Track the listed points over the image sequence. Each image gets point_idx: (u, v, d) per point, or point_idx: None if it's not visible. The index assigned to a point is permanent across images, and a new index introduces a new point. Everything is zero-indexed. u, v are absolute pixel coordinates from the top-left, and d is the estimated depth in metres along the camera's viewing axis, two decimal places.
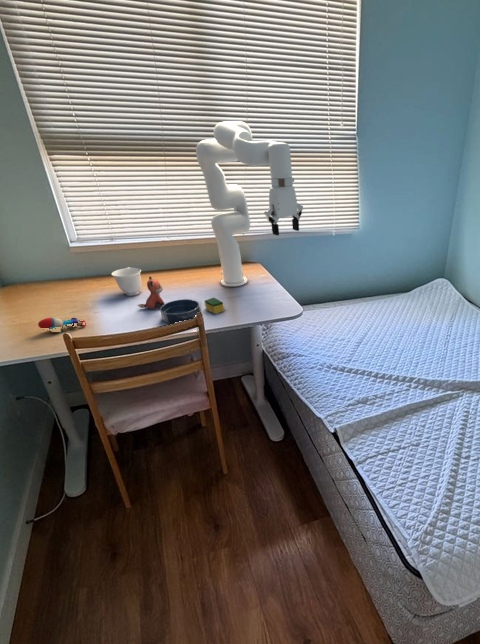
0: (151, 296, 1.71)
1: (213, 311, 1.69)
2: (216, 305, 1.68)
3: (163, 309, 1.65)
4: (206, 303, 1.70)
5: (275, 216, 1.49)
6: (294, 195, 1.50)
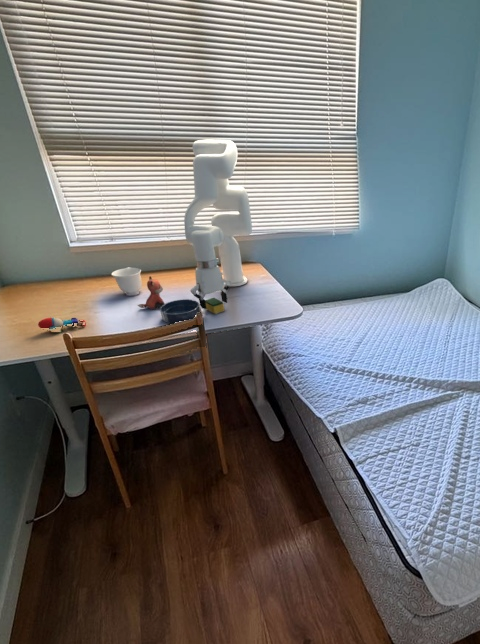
0: (151, 296, 1.71)
1: (213, 311, 1.69)
2: (216, 305, 1.68)
3: (163, 309, 1.65)
4: (206, 303, 1.70)
5: (201, 293, 1.63)
6: (219, 273, 1.64)
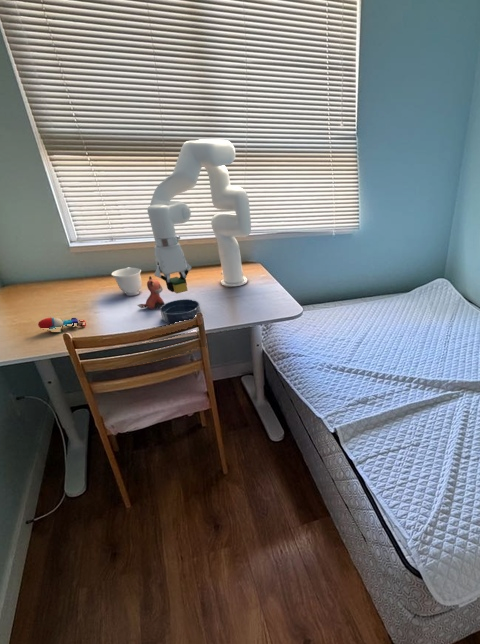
0: (151, 296, 1.71)
1: (175, 290, 1.57)
2: (177, 284, 1.56)
3: (163, 309, 1.65)
4: None
5: (166, 274, 1.54)
6: (181, 252, 1.53)
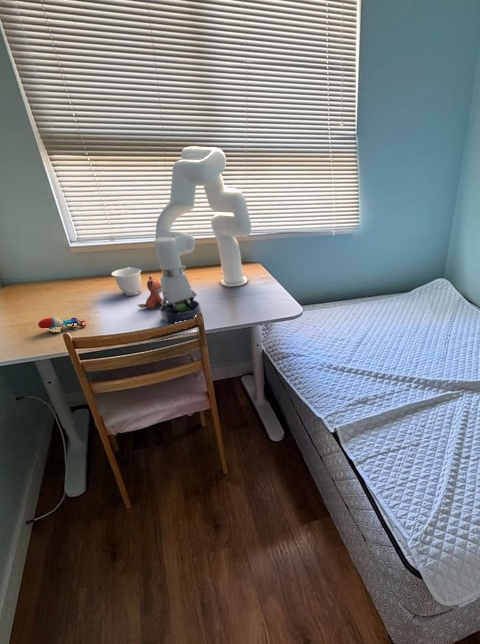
0: (151, 296, 1.71)
1: None
2: (183, 312, 1.61)
3: (163, 309, 1.65)
4: None
5: (172, 303, 1.59)
6: (186, 281, 1.58)
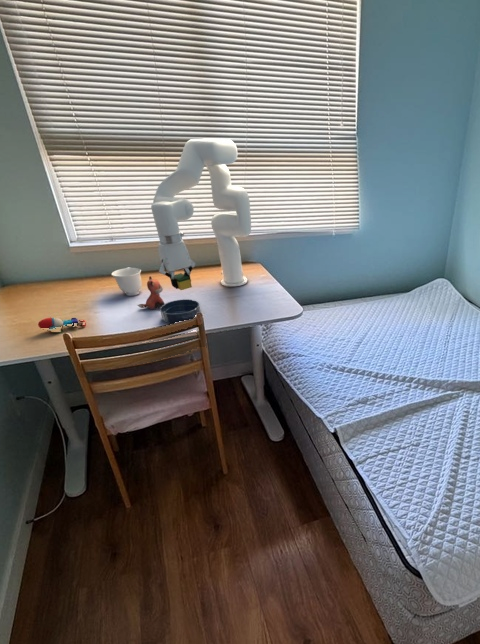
0: (151, 296, 1.71)
1: (179, 287, 1.58)
2: (182, 281, 1.57)
3: (163, 309, 1.65)
4: None
5: (170, 271, 1.55)
6: (185, 249, 1.54)
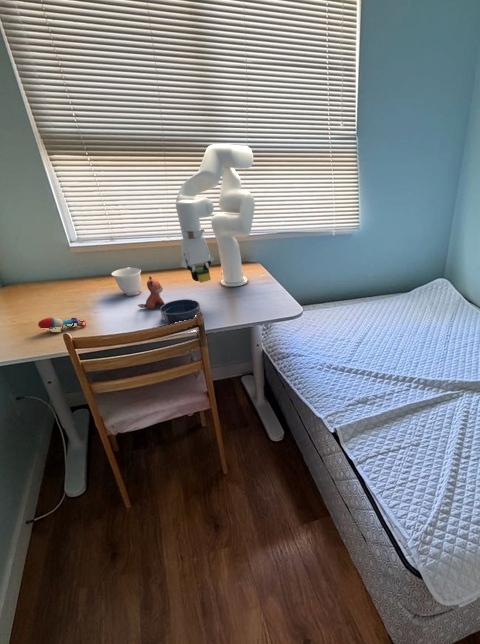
0: (151, 296, 1.71)
1: (199, 280, 1.69)
2: (202, 274, 1.68)
3: (163, 309, 1.65)
4: None
5: (191, 265, 1.66)
6: (205, 244, 1.65)
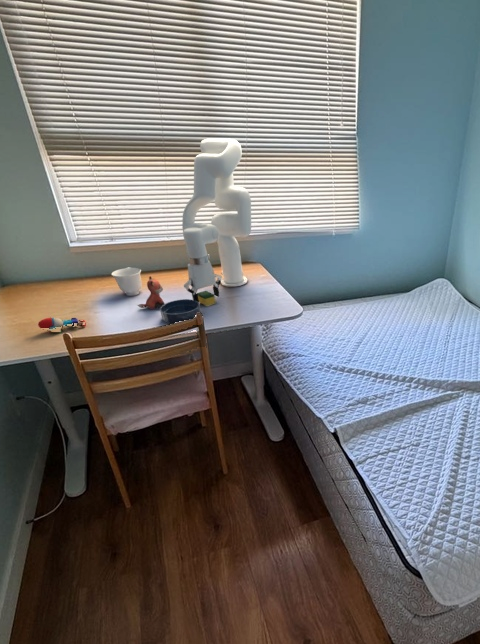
0: (151, 296, 1.71)
1: (205, 303, 1.75)
2: (207, 298, 1.74)
3: (163, 309, 1.65)
4: (198, 296, 1.77)
5: (194, 287, 1.71)
6: (211, 269, 1.72)
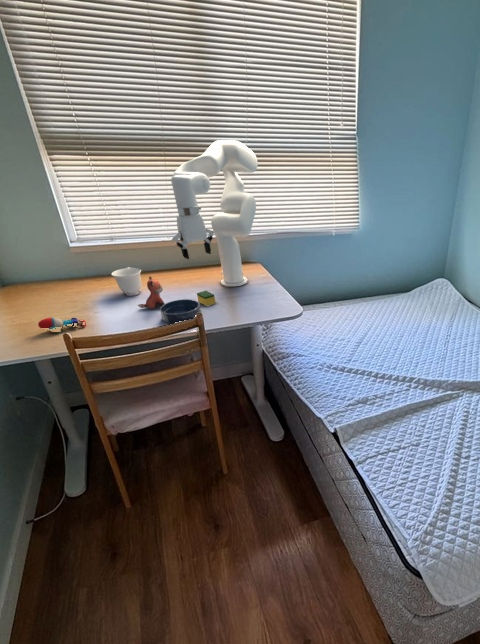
0: (151, 296, 1.71)
1: (205, 303, 1.75)
2: (207, 298, 1.74)
3: (163, 309, 1.65)
4: (198, 296, 1.77)
5: (184, 241, 1.61)
6: (201, 222, 1.61)
